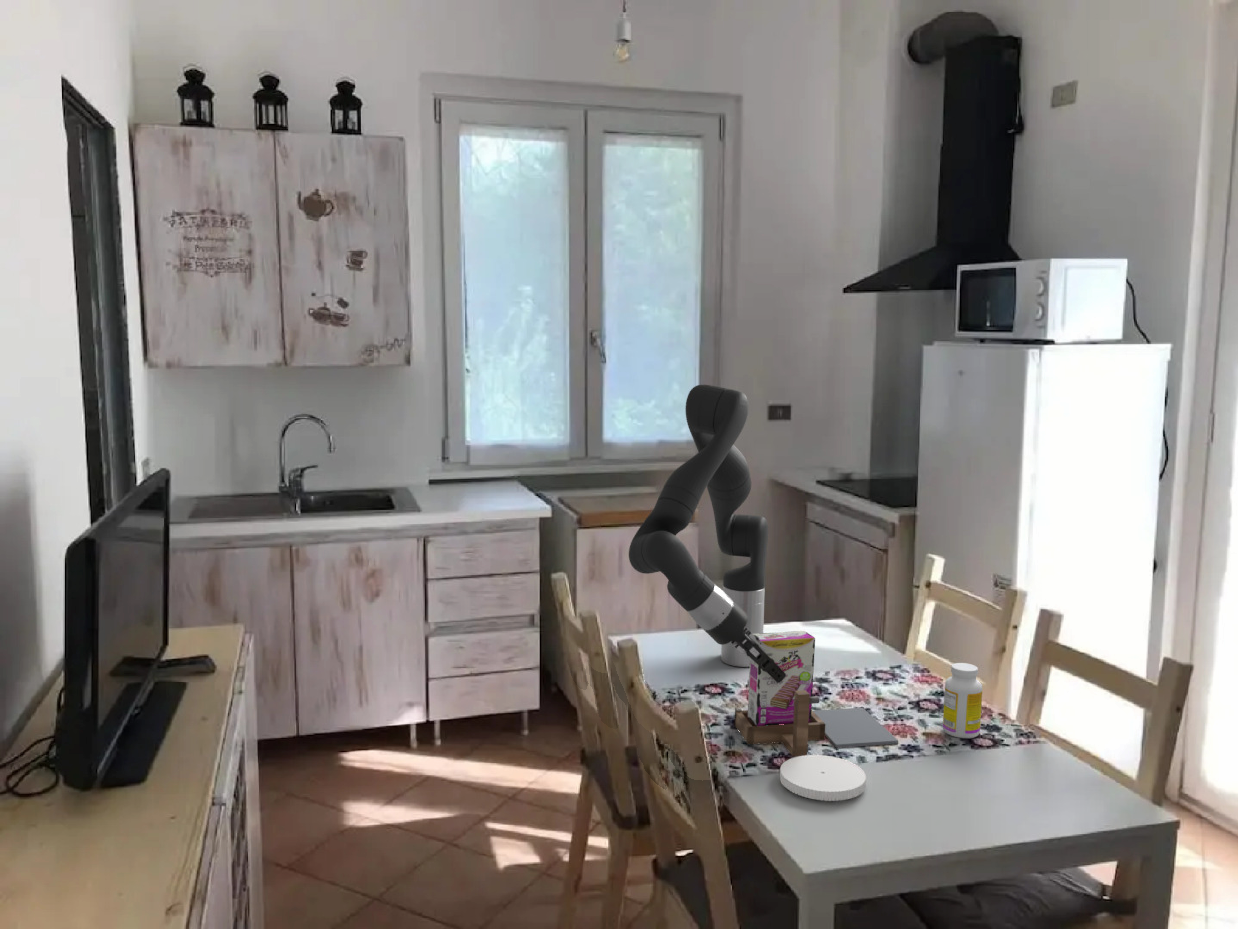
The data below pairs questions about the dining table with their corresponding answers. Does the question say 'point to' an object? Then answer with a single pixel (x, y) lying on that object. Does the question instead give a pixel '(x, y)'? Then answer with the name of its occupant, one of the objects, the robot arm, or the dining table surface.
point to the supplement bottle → (962, 702)
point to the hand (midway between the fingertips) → (776, 673)
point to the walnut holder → (786, 727)
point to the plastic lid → (823, 777)
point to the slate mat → (853, 728)
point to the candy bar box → (777, 699)
